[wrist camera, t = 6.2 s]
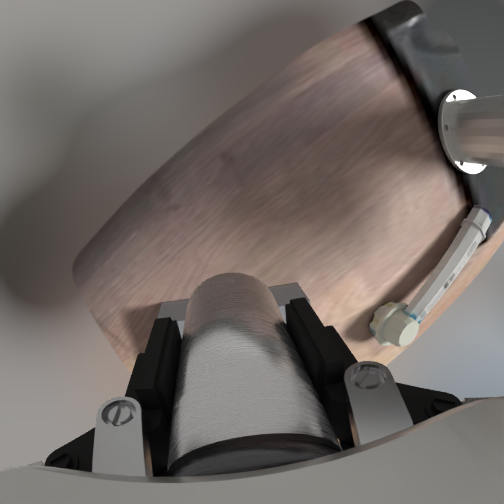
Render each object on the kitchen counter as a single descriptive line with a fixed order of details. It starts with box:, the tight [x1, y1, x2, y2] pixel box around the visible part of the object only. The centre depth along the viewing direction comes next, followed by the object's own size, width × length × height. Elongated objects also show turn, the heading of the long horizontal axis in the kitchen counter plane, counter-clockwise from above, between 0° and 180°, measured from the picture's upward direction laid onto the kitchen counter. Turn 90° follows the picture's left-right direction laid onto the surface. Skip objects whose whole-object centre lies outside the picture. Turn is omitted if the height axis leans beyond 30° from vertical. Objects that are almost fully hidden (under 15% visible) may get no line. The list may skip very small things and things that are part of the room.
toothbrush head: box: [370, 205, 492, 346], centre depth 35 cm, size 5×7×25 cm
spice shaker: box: [167, 273, 342, 477], centre depth 9 cm, size 4×4×9 cm
